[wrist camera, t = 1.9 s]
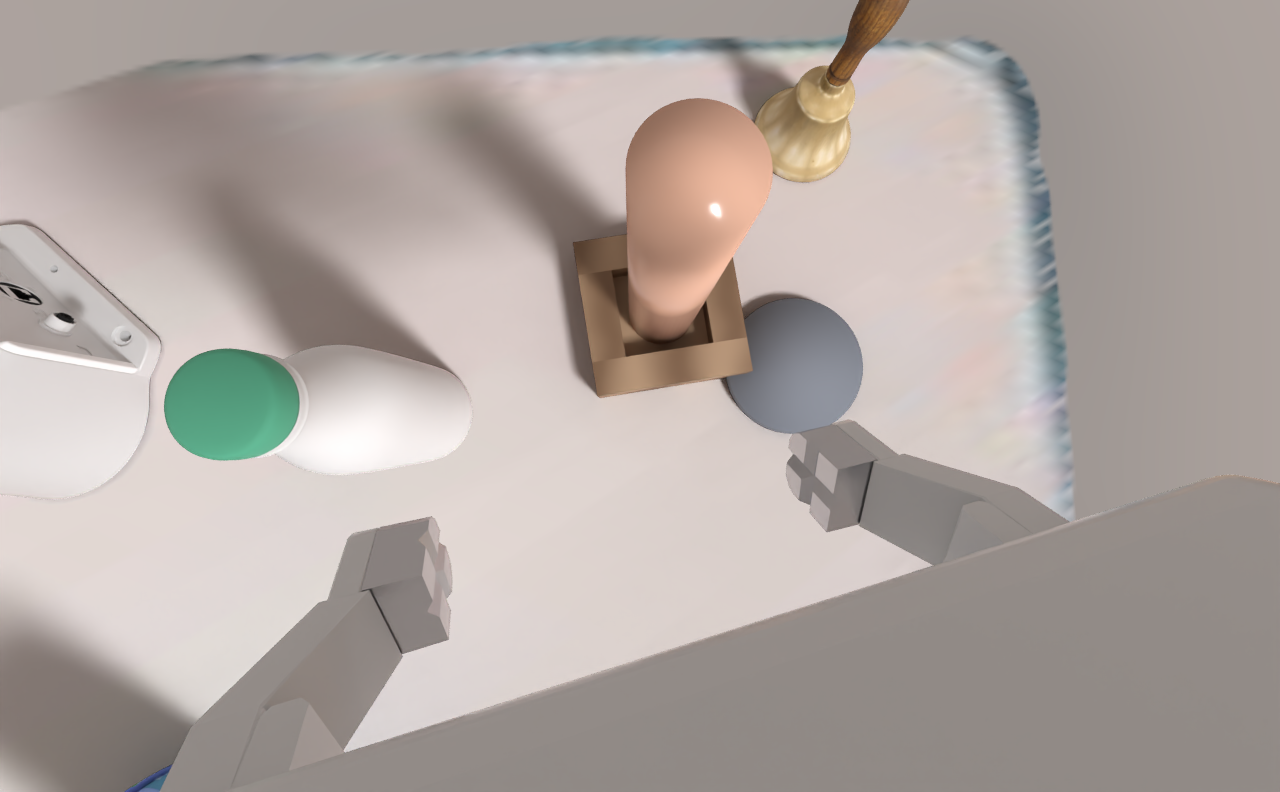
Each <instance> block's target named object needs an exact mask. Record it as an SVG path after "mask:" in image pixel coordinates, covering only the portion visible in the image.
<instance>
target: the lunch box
mask: <svg viewBox="0 0 1280 792" xmlns="http://www.w3.org/2000/svg"><path fill="white" fill-rule="evenodd" d="M172 765H173V764H172ZM172 765H170V766H168V767H166V768H164V769H162V770H160V771H158V772H156V773H154V774H152V775H151V776H149V777H147V778H145V779H144V780H142V781H140V782H139V783H137V784H135V785H134V786H132V787H131V788H129V789H128V790H126V791H125V792H160V790H161V787H162V785H163V783H164V781H165V779H166V777H167V775H168V773H169V771H170V769H171V767H172Z"/></svg>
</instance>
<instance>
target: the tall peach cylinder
mask: <svg viewBox="0 0 1280 792" xmlns="http://www.w3.org/2000/svg"><path fill="white" fill-rule="evenodd" d="M772 176H773V166H772V158H771V154H770V150H769V147H768V145H767V142H766V140H765V138H764V136H763V135H762V133H761V132H760V130H759V129H758V127H757V126H756V125H755V124H754V123H753V122H752V121H751V120H750V119H749V118H748V117H747V116H746V115H745V114H743V113H742V112H740V111H739V110H737V109H736V108H734V107H732V106H730V105H728V104H725V103H722V102H719V101H715V100H710V99H701V98H697V99H686V100H680V101H677V102H674V103H671V104H669V105H667V106H664V107H662V108H661V109H659V110H658V111H656V112H654V113H653V114H652V115H651V116H650V117H648V118H647V119H646V120H645V121H644V123H643V124H642V125H641V126H640V127H639V129H638V130H637V132H636V133H635V135H634V137H633V139H632V141H631V144H630V146H629V149H628V153H627V158H626V209H627V255H628V301H629V319H630V322H631V325H632V327H633V329H634V330H635V332H636V333H637V334H638V335H639V336H640V337H641V338H643V339H644V340H646V341H648V342H651V343H655V344H667V343H671V342H674V341H676V340H678V339H679V338H681V337H682V336H683V335H684V334H685V333H686V332H687V330H688V329H689V327H690V326H691V324H692V322H693V321H694V319H695V317H696V316H697V314H698V312H699V311H700V309H701V308H702V306H703V304H704V303H705V301H706V299H707V298H708V296H709V294H710V293H711V291H712V290H713V288H714V286H715V285H716V283H717V281H718V280H719V278H720V276H721V275H722V273H723V272H724V270H725V268H726V267H727V265H728V263H729V262H730V260H731V258H732V257H733V255H734V254H735V252H736V250H737V249H738V247H739V245H740V244H741V242H742V241H743V239H744V237H745V236H746V234H747V232H748V231H749V229H750V227H751V226H752V224H753V223H754V221H755V219H756V218H757V216H758V214H759V213H760V211H761V209H762V208H763V206H764V204H765V202H766V200H767V198H768V195H769V192H770V189H771V184H772Z"/></svg>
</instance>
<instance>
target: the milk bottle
mask: <svg viewBox="0 0 1280 792" xmlns="http://www.w3.org/2000/svg"><path fill="white" fill-rule="evenodd" d="M164 412H165V418H166V422H167V425H168V428H169V430H170V432H171V434H172V435H173V437H174V438H175V439H176V441H177V442H178V443H179V444H180V445H181V446H182V447H184V448H185V449H186V450H188V451H189V452H191V453H193V454H195V455H197V456H200V457H203V458H208V459H212V460H241V459H248V458H261V457H266V456H270V455H273V454H275V455H277V456H278V457H280V458H281V459H283V460H285V461H286V462H288V463H290V464H292V465H294V466H296V467H298V468H301V469H304V470H307V471H311V472H315V473H321V474H328V475H352V474H360V473H369V472H375V471H381V470H386V469H392V468H398V467H403V466H408V465H414V464H419V463H424V462H429V461H433V460H436V459H440V458H442V457H445V456H446V455H448V454H450V453H451V452H453V451H454V450H455V449H456V448H457V447H459V446H460V444H461V443H462V442H463V441H464V439H465V438H466V436H467V434H468V432H469V429H470V426H471V423H472V416H473V409H472V402H471V398H470V396H469V393H468V391H467V389H466V388H465V386H464V385H463V383H462V382H461V381H460V380H459V379H458V378H457V377H456V376H454V375H453V374H452V373H450V372H448V371H446V370H444V369H442V368H439V367H436V366H433V365H429V364H426V363H423V362H419V361H416V360H412V359H409V358H405V357H401V356H398V355H394V354H390V353H387V352H383V351H379V350H374V349H369V348H365V347H360V346H353V345H326V346H319V347H314V348H310V349H306V350H303V351H301V352H298V353H296V354H293V355H291V356H289V357H287V358H285V359H283V360H282V359H280V358H278V357H275V356H271V355H266V354H259V353H255V352H251V351H246V350H238V349H217V350H211V351H207V352H204V353H201V354H199V355H197V356H195V357H193V358H191V359H190V360H188V361H187V362H186V363H185V364H183V365H182V366H181V367H180V368H179V370H178V371H177V372H176V373H175V375H174V376H173V378H172V379H171V381H170V383H169V386H168V388H167V391H166V395H165V401H164Z"/></svg>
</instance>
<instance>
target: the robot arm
mask: <svg viewBox="0 0 1280 792" xmlns="http://www.w3.org/2000/svg"><path fill="white" fill-rule="evenodd" d="M130 335H131V338H130ZM129 338H130V339H129ZM160 351H161V343H160V340H159V338H158V337H157V336H156V335H155V334H154V333H153V332H152V331H151V330H150V329H149V328H147V327H146V326H145V325H144V324H143V323H142V322H141V321H140V320H139V319H138V318H136V317H135V316H134V315H133V314H132V313H131V312H130V311H129V310H128V309H127V308H126V307H124V306H123V305H122V304H121V303H120V302H119V301H118V300H117V299H116V298H115V297H113V296H112V295H111V294H110V293H109V292H108V291H107V290H106V289H105V288H104V287H102V286H101V285H100V284H99V283H98V282H97V281H96V280H95V279H94V278H93V277H92V276H90V275H89V274H88V273H87V272H86V271H85V270H84V269H83V268H82V267H81V266H79V265H78V264H77V263H76V262H75V261H74V260H73V259H72V258H71V257H70V256H68V255H67V254H66V253H65V252H64V251H63V250H62V249H61V248H60V247H59V246H58V245H56V244H55V243H54V242H53V241H52V240H51V239H50V238H49V237H48V236H46V235H45V234H44V233H43V232H42V231H40V230H39V229H38V228H35V227H32V226H27V225H23V224H10V225H2V226H0V495H2V496H17V497H28V498H36V499H46V500H55V499H65V498H70V497H74V496H78V495H81V494H84V493H86V492H89V491H91V490H93V489H95V488H97V487H99V486H100V485H102V484H104V483H105V482H107V481H108V480H109V479H111V478H112V477H113V476H114V475H115V474H117V473H118V472H119V471H120V470H121V469H122V468H123V467H124V465H125V464H126V463H127V462H128V461H129V459H130V458H131V457H132V455H133V454H134V452H135V450H136V449H137V447H138V445H139V443H140V441H141V439H142V436H143V434H144V431H145V427H146V424H147V419H148V413H149V383H150V377H151V375H152V373H153V371H154V368H155V366H156V364H157V361H158V358H159V355H160ZM789 449H790V451H791V452H792V453H793V455H792V457H791V458H790V459H789V461H788V462H787V466H786V477H787V481H788V485H789V487H790V489H791V491H792V493H793V494H794V495H795V496H796V498H797V499H798V500H799V501H802V502H804V503H806V504H809V505H810V514H811V515H812V516H813V517H814V519H815V520H816V521H817V522H818V523H819V524H820V525H821V527H822V528H823V529H824V530H825V531H826V532H830V531H834V530H838V529H842V528H846V527H850V526H854V525H858V524H859V526H860V527H862V528H864V529H866V530H868V531H870V532H872V533H874V534H875V535H877V536H879V537H881V538H883V539H885V540H887V541H889V542H890V543H892V544H894V545H896V546H898V547H900V548H902V549H904V550H906V551H907V552H909V553H911V554H913V555H915V556H917V557H919V558H921V559H923V560H924V561H926V562H928V563H930V564H932V565H934V566H931V567H928V568H924V569H921V570H918V571H915V572H912V573H909V574H905V575H902V576H899V577H896V578H893V579H890V580H887V581H883V582H880V583H877V584H874V585H871V586H868V587H865V588H861V589H858V590H855V591H852V592H849V593H846V594H843V595H839V596H836V597H833V598H830V599H827V600H824V601H821V602H817V603H814V604H811V605H808V606H805V607H802V608H799V609H796V610H792V611H789V612H786V613H783V614H780V615H777V616H774V617H770V618H767V619H764V620H761V621H758V622H755V623H752V624H748V625H745V626H742V627H739V628H736V629H733V630H730V631H726V632H723V633H720V634H717V635H714V636H711V637H708V638H704V639H701V640H698V641H695V642H692V643H689V644H685V645H682V646H679V647H676V648H673V649H670V650H667V651H663V652H660V653H657V654H654V655H651V656H648V657H645V658H641V659H638V660H635V661H632V662H629V663H626V664H623V665H619V666H616V667H613V668H610V669H607V670H604V671H601V672H597V673H594V674H591V675H588V676H585V677H582V678H579V679H575V680H572V681H569V682H566V683H563V684H560V685H557V686H553V687H550V688H547V689H544V690H541V691H538V692H535V693H531V694H528V695H525V696H522V697H519V698H516V699H513V700H510V701H506V702H503V703H500V704H497V705H494V706H491V707H488V708H484V709H481V710H478V711H475V712H472V713H469V714H466V715H462V716H459V717H456V718H453V719H450V720H447V721H444V722H440V723H437V724H434V725H431V726H428V727H425V728H422V729H418V730H415V731H412V732H409V733H406V734H403V735H400V736H396V737H393V738H390V739H387V740H384V741H381V742H378V743H374V744H371V745H368V746H365V747H362V748H359V749H356V750H352V751H349V752H346V753H345V752H344V751H343V750H344V748H345V747H346V745H347V744H348V742H349V740H350V739H351V737H352V736H353V734H354V733H355V731H356V729H357V728H358V726H359V725H360V723H361V722H362V720H363V718H364V717H365V715H366V714H367V712H368V711H369V709H370V707H371V706H372V704H373V703H374V701H375V700H376V698H377V696H378V695H379V693H380V692H381V690H382V689H383V687H384V685H385V684H386V682H387V681H388V679H389V677H390V676H391V674H392V673H393V671H394V670H395V668H396V666H397V665H398V663H399V662H400V660H401V659H402V657H403V656H402V654H404V653H407V652H411V651H414V650H417V649H420V648H424V647H427V646H430V645H433V644H436V643H440V642H443V641H446V640H449V629H450V614H451V610H450V607H449V604H448V602H447V598H448V596H449V595H450V594H451V592H452V570H451V563H450V559H449V555H448V552H447V549H446V546H444V545H442V544H441V543H439V535H440V530H439V527H438V525H437V522H436V520H435V518H433V517H432V516H431V517H426V518H422V519H417V520H412V521H407V522H402V523H398V524H393V525H388V526H383V527H380V528H375V529H371V530H366V531H361V532H357V533H353V534H352V535H351V536H350V537H349V538H348V539H347V542H346V545H345V548H344V551H343V554H342V557H341V560H340V563H339V566H338V569H337V572H336V575H335V578H334V582H333V585H332V588H331V591H330V594H329V597H328V600H327V601H323V602H319V603H318V604H317V605H316V606H315V607H314V608H313V609H312V610H311V611H310V612H309V613H308V614H307V615H306V616H305V617H303V618H302V619H301V620H300V621H299V622H298V623H297V624H296V625H295V626H294V627H293V628H292V629H291V630H290V631H289V632H288V633H287V634H286V635H285V636H284V637H283V638H282V639H281V640H280V641H279V642H278V643H277V644H276V645H275V646H274V647H273V648H272V649H271V650H270V651H269V652H267V653H266V654H265V655H264V656H263V657H262V658H261V659H260V660H259V661H258V662H257V663H256V664H255V665H254V666H253V667H252V668H251V669H250V670H249V671H248V672H247V673H246V674H245V675H244V676H243V677H242V678H241V679H240V680H239V681H238V682H237V683H236V684H235V685H234V686H233V687H232V688H230V689H229V690H228V691H227V692H226V693H225V694H224V695H223V696H222V697H221V698H220V699H219V700H218V701H217V702H216V703H215V704H214V705H213V706H212V707H211V708H210V709H209V710H208V711H207V712H206V713H205V714H204V715H203V716H202V717H201V718H200V719H199V720H198V721H197V722H196V723H195V724H193V725H192V726H191V728H190V730H189V732H188V734H187V736H186V738H185V740H184V742H183V745H182V747H181V749H180V751H179V753H178V755H177V757H176V759H175V761H174V763H173V765H172V767H171V769H170V771H169V773H168V775H167V777H166V779H165V781H164V783H163V785H162V787H161V790H160V792H1280V483H1276V482H1271V481H1266V480H1262V479H1257V478H1250V477H1245V476H1239V475H1221V476H1215V477H1211V478H1207V479H1203V480H1200V481H1197V482H1194V483H1191V484H1188V485H1185V486H1182V487H1179V488H1176V489H1172V490H1170V491H1166V492H1163V493H1160V494H1157V495H1154V496H1151V497H1147V498H1144V499H1141V500H1138V501H1135V502H1132V503H1129V504H1126V505H1123V506H1119V507H1116V508H1113V509H1110V510H1107V511H1104V512H1101V513H1098V514H1095V515H1092V516H1088V517H1085V518H1082V519H1078V520H1075V521H1072V522H1069V521H1068V520H1066V519H1065V518H1063V517H1062V516H1060V515H1059V514H1057V513H1056V512H1054V511H1052V510H1051V509H1049V508H1048V507H1046V506H1045V505H1043V504H1042V503H1040V502H1039V501H1037V500H1036V499H1034V498H1033V497H1031V496H1030V495H1028V494H1027V493H1025V492H1024V491H1022V490H1021V489H1019V488H1017V487H1014V486H1010V485H1007V484H1004V483H1000V482H997V481H994V480H990V479H987V478H984V477H980V476H977V475H974V474H970V473H967V472H964V471H960V470H957V469H953V468H950V467H947V466H943V465H940V464H937V463H933V462H930V461H927V460H923V459H920V458H917V457H913V456H910V455H907V454H901V455H898V454H897V453H895V452H894V451H893V450H891V449H890V448H889V447H887V446H886V445H885V444H884V443H882V442H881V441H880V440H878V439H877V438H876V437H874V436H873V435H872V434H871V433H869V432H868V431H867V430H865V429H864V428H863V427H861V426H860V425H859V424H858V423H856V422H855V421H852V420H845V421H841V422H837V423H833V424H830V425H827V426H823V427H819V428H814V429H810V430H806V431H802V432H797V433H793V434H792V436H791V438H790V440H789Z"/></svg>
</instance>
